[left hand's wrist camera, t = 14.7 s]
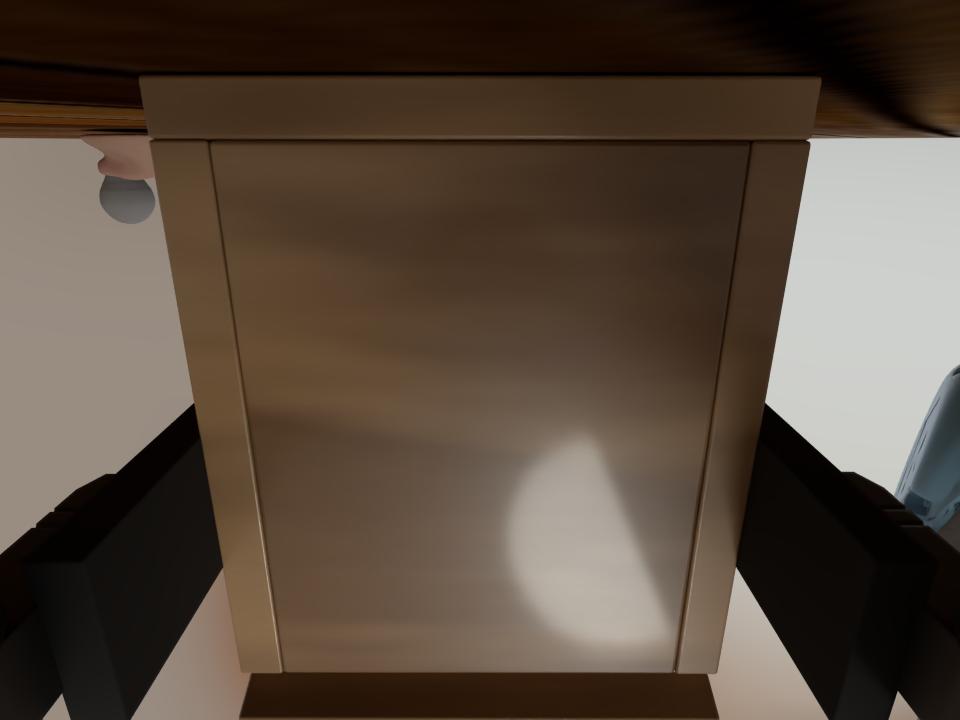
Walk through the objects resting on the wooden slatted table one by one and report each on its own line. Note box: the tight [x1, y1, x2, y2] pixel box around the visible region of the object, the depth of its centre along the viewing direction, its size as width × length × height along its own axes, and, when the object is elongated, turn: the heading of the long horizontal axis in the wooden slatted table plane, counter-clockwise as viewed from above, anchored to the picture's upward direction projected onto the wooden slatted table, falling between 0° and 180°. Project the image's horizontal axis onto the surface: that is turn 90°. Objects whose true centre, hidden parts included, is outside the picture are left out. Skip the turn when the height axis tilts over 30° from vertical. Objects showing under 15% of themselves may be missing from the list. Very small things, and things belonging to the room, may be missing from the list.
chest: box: [139, 74, 822, 674], centre depth 18 cm, size 16×10×11 cm, turn 0°
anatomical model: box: [80, 134, 155, 180], centre depth 43 cm, size 13×4×12 cm
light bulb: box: [100, 175, 155, 224], centre depth 73 cm, size 6×6×10 cm
